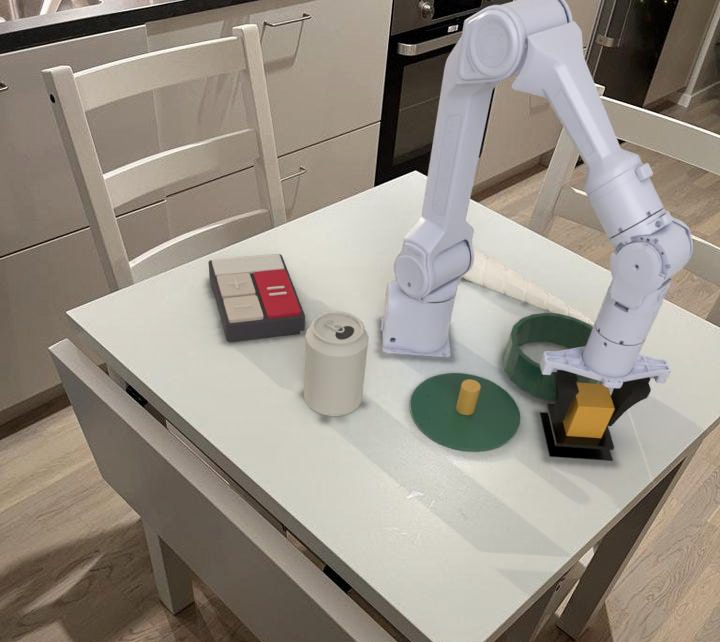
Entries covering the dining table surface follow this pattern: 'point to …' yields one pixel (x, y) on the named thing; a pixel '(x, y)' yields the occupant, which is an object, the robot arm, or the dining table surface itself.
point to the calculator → (255, 297)
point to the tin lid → (464, 412)
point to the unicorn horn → (516, 286)
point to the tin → (542, 330)
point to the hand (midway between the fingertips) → (582, 418)
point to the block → (589, 411)
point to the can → (335, 363)
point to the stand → (574, 441)
